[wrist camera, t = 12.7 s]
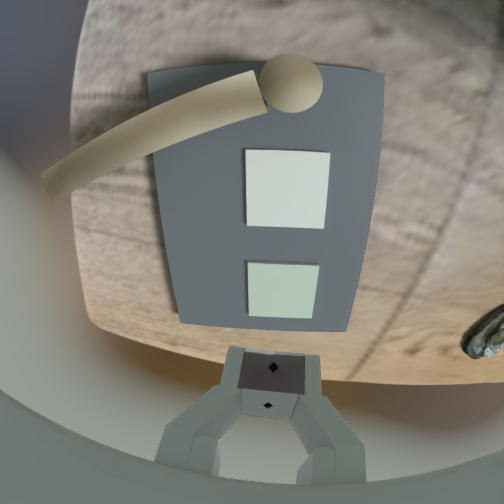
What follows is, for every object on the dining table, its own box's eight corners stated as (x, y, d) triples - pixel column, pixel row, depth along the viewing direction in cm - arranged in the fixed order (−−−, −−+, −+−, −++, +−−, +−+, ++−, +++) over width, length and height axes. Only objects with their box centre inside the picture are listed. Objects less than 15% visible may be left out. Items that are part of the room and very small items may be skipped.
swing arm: (323, 103, 19) (330, 105, 16) (72, 195, 25) (54, 207, 22) (308, 54, 17) (312, 47, 14) (57, 160, 23) (38, 169, 20)
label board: (379, 74, 20) (393, 72, 17) (344, 323, 34) (348, 345, 31) (154, 73, 22) (135, 72, 19) (183, 315, 36) (175, 335, 33)
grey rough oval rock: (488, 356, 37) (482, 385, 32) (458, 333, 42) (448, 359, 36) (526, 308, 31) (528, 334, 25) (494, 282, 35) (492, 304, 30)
